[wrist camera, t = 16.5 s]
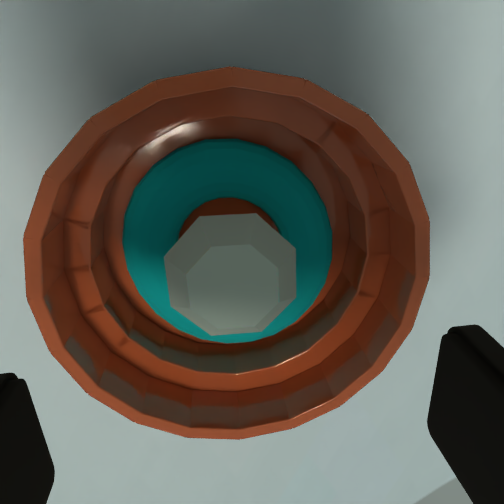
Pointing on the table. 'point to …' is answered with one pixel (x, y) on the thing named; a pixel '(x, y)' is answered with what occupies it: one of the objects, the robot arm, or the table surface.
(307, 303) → the ornament
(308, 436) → the table surface
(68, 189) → the bowl
